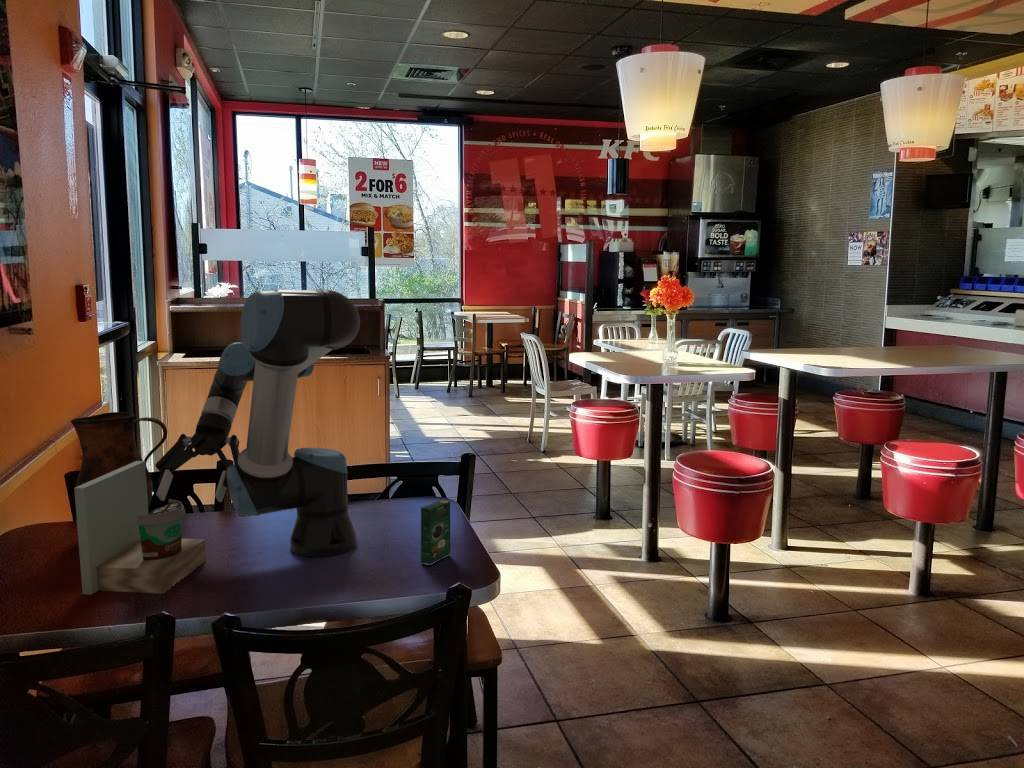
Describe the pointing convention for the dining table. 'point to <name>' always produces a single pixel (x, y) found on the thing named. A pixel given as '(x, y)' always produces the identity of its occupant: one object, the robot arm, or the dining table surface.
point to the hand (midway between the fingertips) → (189, 498)
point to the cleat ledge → (149, 569)
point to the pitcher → (110, 445)
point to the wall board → (109, 517)
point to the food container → (161, 531)
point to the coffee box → (435, 531)
